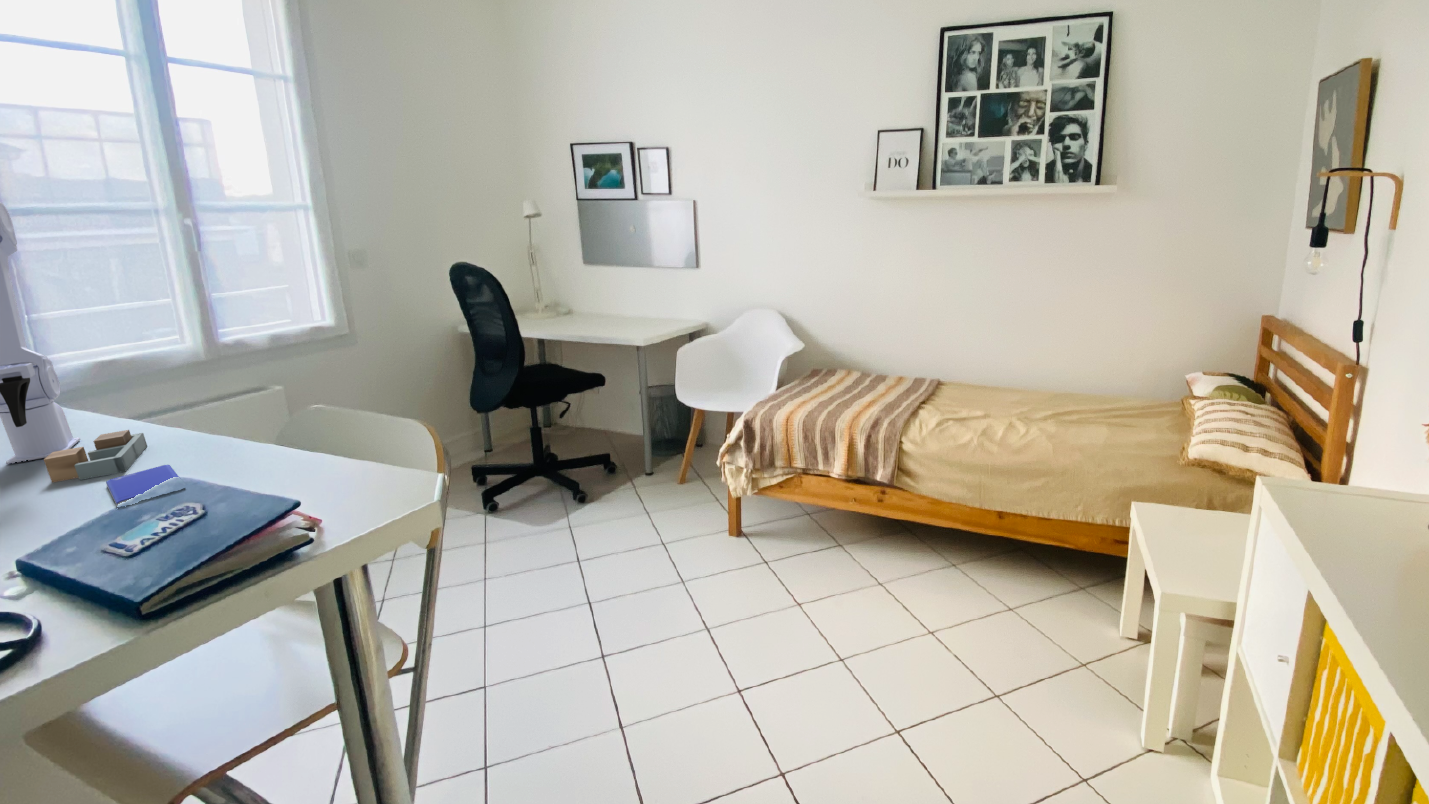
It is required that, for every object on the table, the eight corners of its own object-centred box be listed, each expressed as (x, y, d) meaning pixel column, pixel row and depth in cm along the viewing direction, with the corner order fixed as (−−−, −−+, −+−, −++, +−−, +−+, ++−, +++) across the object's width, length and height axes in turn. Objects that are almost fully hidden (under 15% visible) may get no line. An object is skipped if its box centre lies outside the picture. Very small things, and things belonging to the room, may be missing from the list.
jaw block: (61, 474, 119) (52, 451, 118) (91, 469, 120) (83, 446, 119) (52, 483, 115) (43, 459, 114) (83, 477, 117) (75, 453, 116)
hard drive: (105, 480, 111) (115, 501, 103) (169, 463, 117) (184, 482, 108) (108, 489, 112) (119, 511, 103) (172, 472, 117) (187, 491, 109)
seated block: (108, 456, 126) (100, 434, 125) (136, 451, 128) (129, 429, 127) (101, 463, 123) (93, 441, 122) (130, 458, 124) (122, 436, 123)
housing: (106, 453, 128) (101, 440, 127) (147, 445, 130) (143, 432, 129) (79, 480, 115) (74, 465, 115) (125, 471, 118) (120, 456, 117)
